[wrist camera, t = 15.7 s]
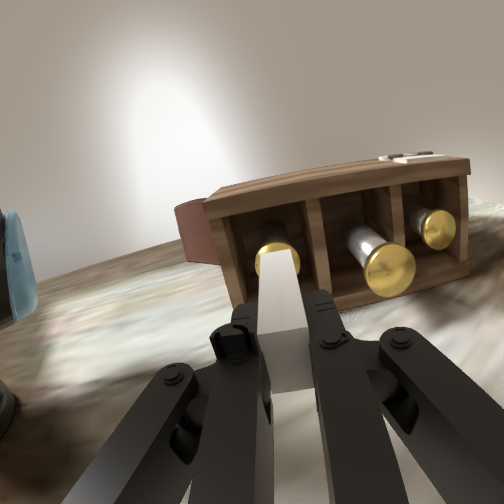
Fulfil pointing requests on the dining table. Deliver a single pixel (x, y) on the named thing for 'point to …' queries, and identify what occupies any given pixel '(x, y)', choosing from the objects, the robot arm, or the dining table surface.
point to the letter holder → (196, 233)
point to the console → (331, 217)
